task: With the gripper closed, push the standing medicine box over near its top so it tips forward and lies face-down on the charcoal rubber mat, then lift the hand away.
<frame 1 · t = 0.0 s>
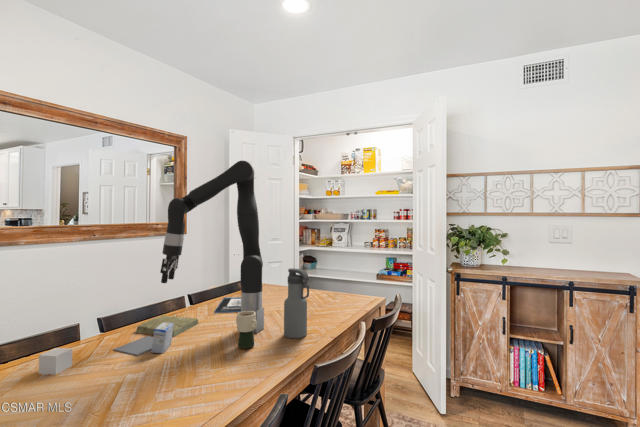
hand: (167, 281, 141), 22 cm above the table, tool pointing down, fingers open, 8 cm apart
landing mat: (143, 345, 127), on the table
folded green cloth: (167, 329, 147), on the table
sketchbook: (238, 306, 186), on the table
water bottle: (295, 335, 139), on the table
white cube: (55, 370, 106), on the table
medicine box: (161, 349, 123), on the table, touching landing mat
character mug: (246, 347, 126), on the table
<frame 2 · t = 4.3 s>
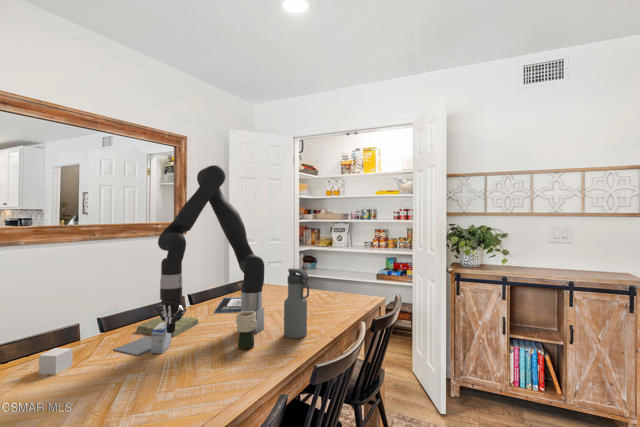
hand: (170, 332, 121), 7 cm above the table, tool pointing down, fingers closed
medicine box: (161, 349, 123), on the table, touching gripper, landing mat
everything else where it was.
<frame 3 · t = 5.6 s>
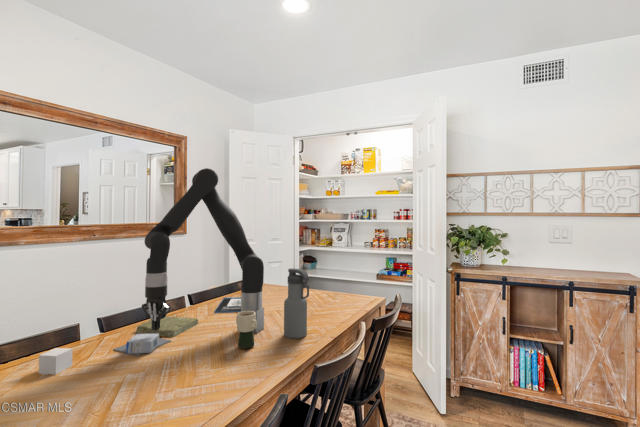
hand: (155, 329, 124), 7 cm above the table, tool pointing down, fingers closed
medicine box: (155, 342, 123), point 3 cm above the table, touching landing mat
everything else where it was.
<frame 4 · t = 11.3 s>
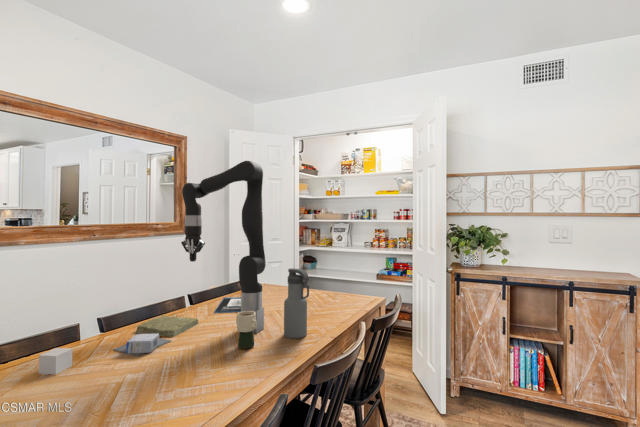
hand: (192, 261, 156), 29 cm above the table, tool pointing down, fingers closed
nothing on the table moved.
at the end: medicine box tilted 90°; medicine box inside the target area (1.1 cm from its centre), point 2.7 cm above the table; the gripper is holding nothing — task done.
